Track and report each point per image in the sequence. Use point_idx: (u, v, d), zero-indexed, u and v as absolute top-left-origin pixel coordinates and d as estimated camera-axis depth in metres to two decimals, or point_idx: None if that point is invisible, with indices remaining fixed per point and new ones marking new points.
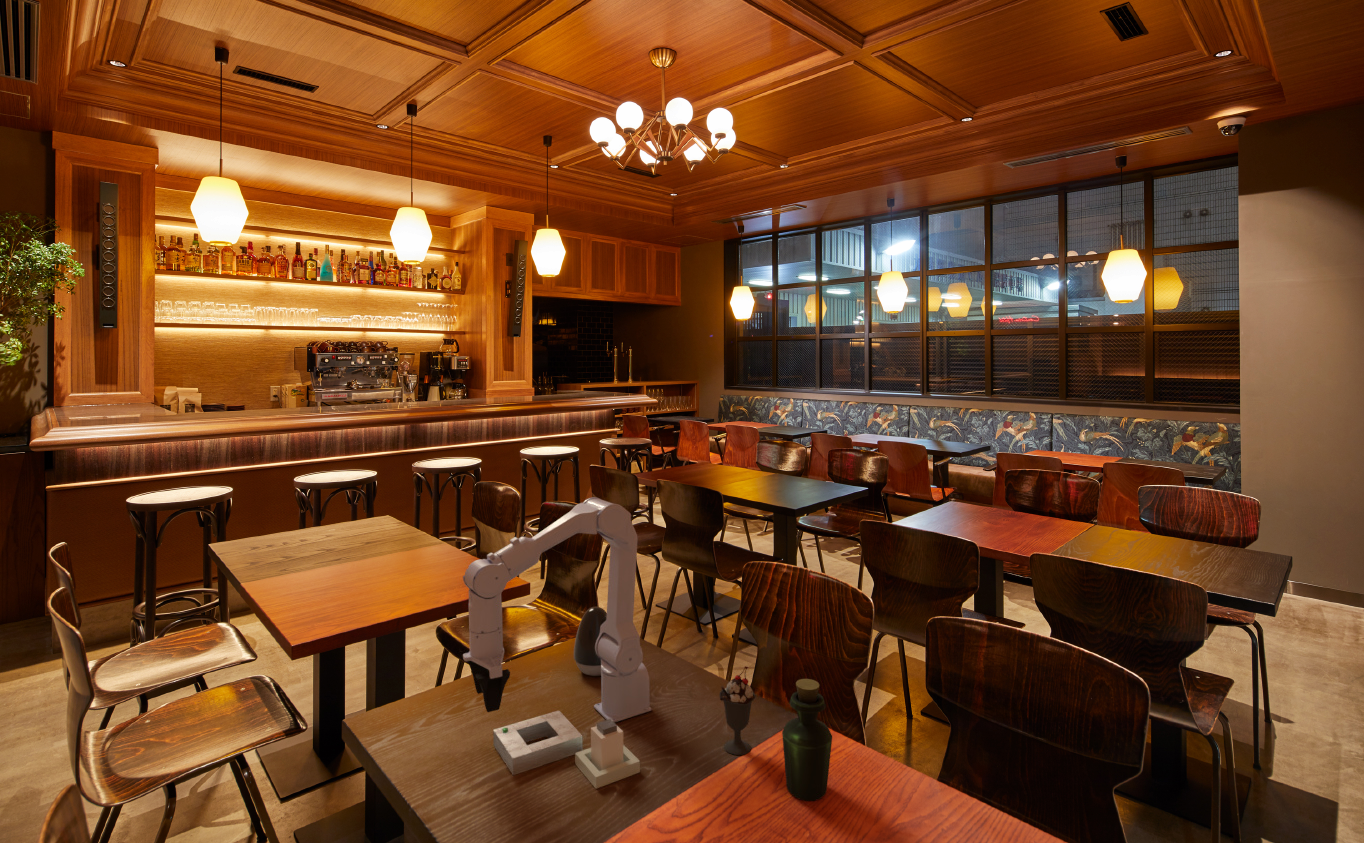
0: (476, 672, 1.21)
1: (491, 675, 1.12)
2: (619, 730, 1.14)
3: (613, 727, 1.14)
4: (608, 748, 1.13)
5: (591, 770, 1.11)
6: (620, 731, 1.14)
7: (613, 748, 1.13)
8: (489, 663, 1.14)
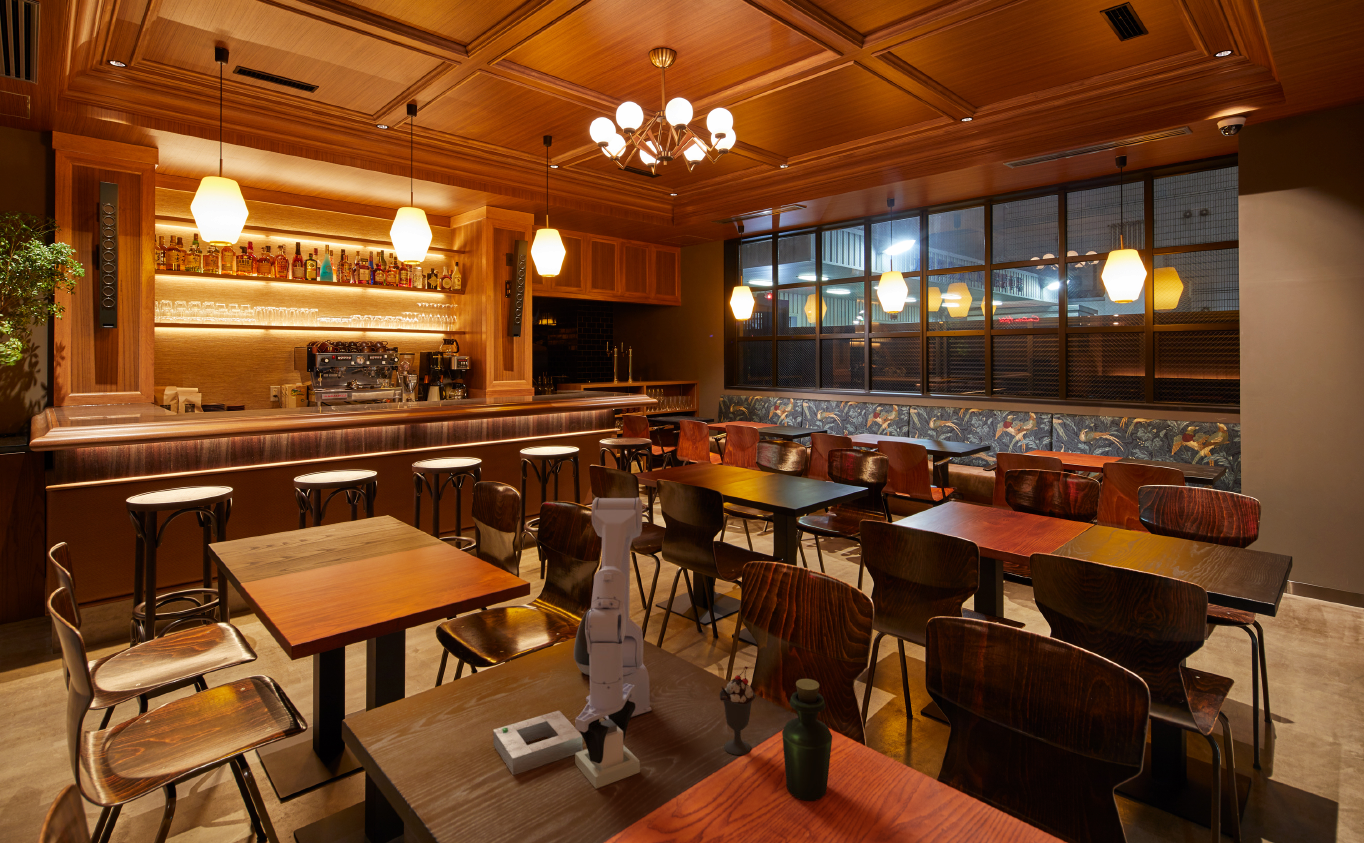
0: None
1: (576, 726, 1.09)
2: (619, 730, 1.14)
3: (613, 727, 1.14)
4: (608, 748, 1.13)
5: (591, 770, 1.11)
6: (620, 731, 1.14)
7: (613, 748, 1.13)
8: (586, 713, 1.10)
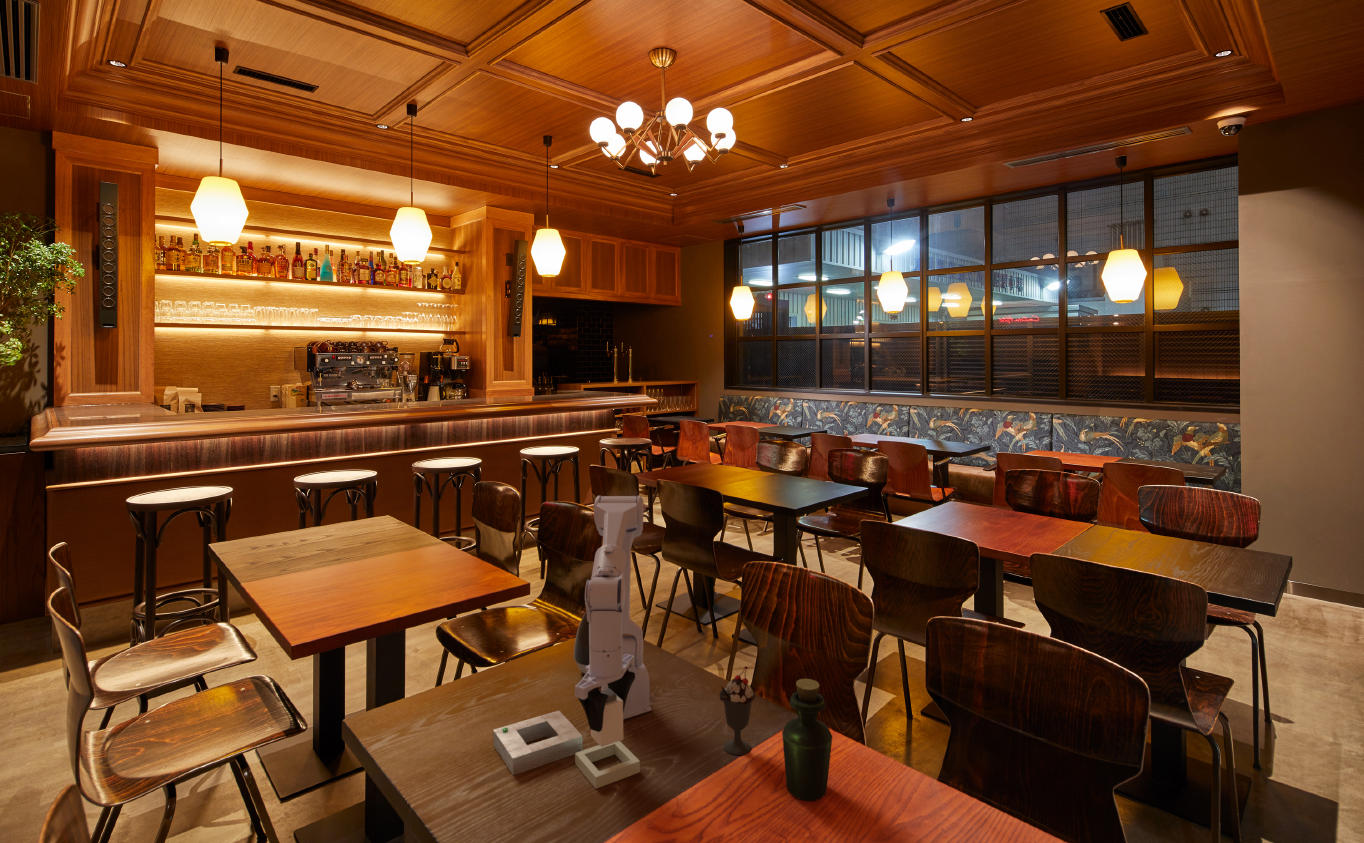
0: None
1: (575, 693, 1.08)
2: (619, 699, 1.14)
3: (613, 696, 1.13)
4: (608, 717, 1.12)
5: (591, 770, 1.11)
6: (620, 700, 1.14)
7: (613, 717, 1.13)
8: (586, 681, 1.10)
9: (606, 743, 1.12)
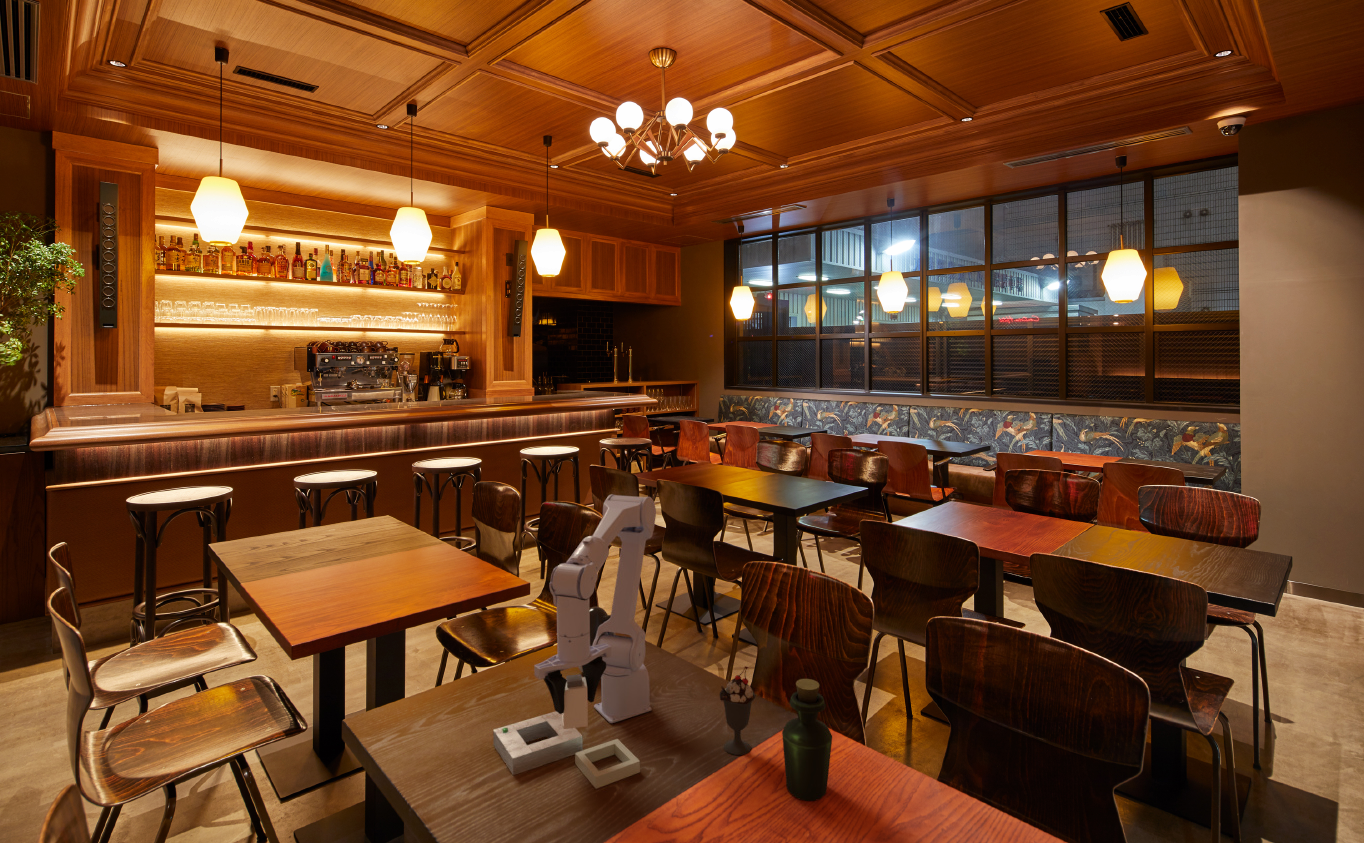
0: (585, 676, 1.20)
1: (534, 673, 1.13)
2: (584, 686, 1.16)
3: (578, 682, 1.16)
4: (571, 701, 1.15)
5: (591, 770, 1.11)
6: (585, 687, 1.16)
7: (576, 702, 1.15)
8: (548, 663, 1.14)
9: (569, 726, 1.15)
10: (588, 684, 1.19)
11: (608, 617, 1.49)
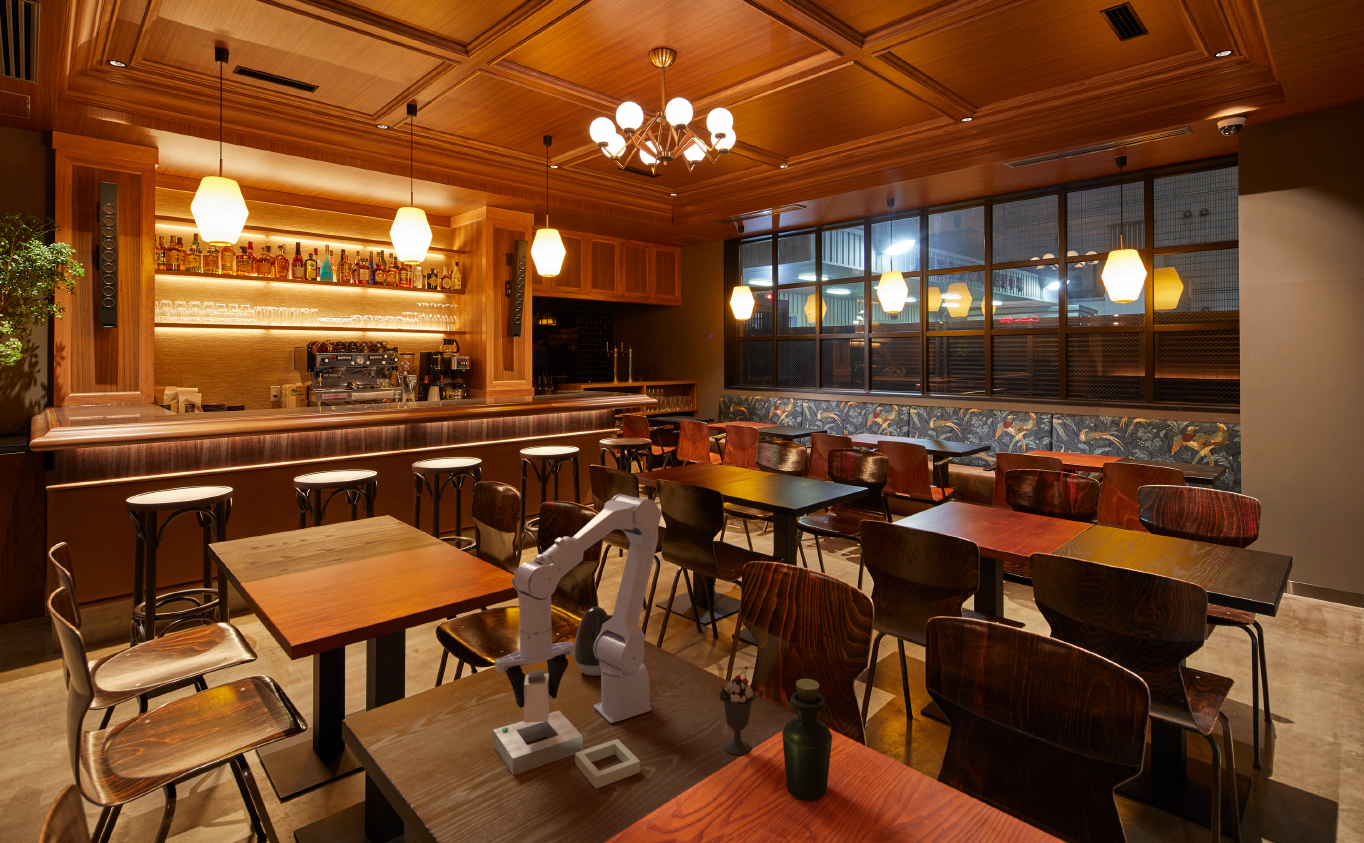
0: (549, 672, 1.23)
1: (495, 666, 1.17)
2: (545, 682, 1.19)
3: (539, 677, 1.19)
4: (531, 696, 1.18)
5: (591, 770, 1.11)
6: (545, 683, 1.19)
7: (536, 697, 1.18)
8: (509, 658, 1.18)
9: (529, 720, 1.18)
10: (551, 680, 1.22)
11: (608, 617, 1.49)
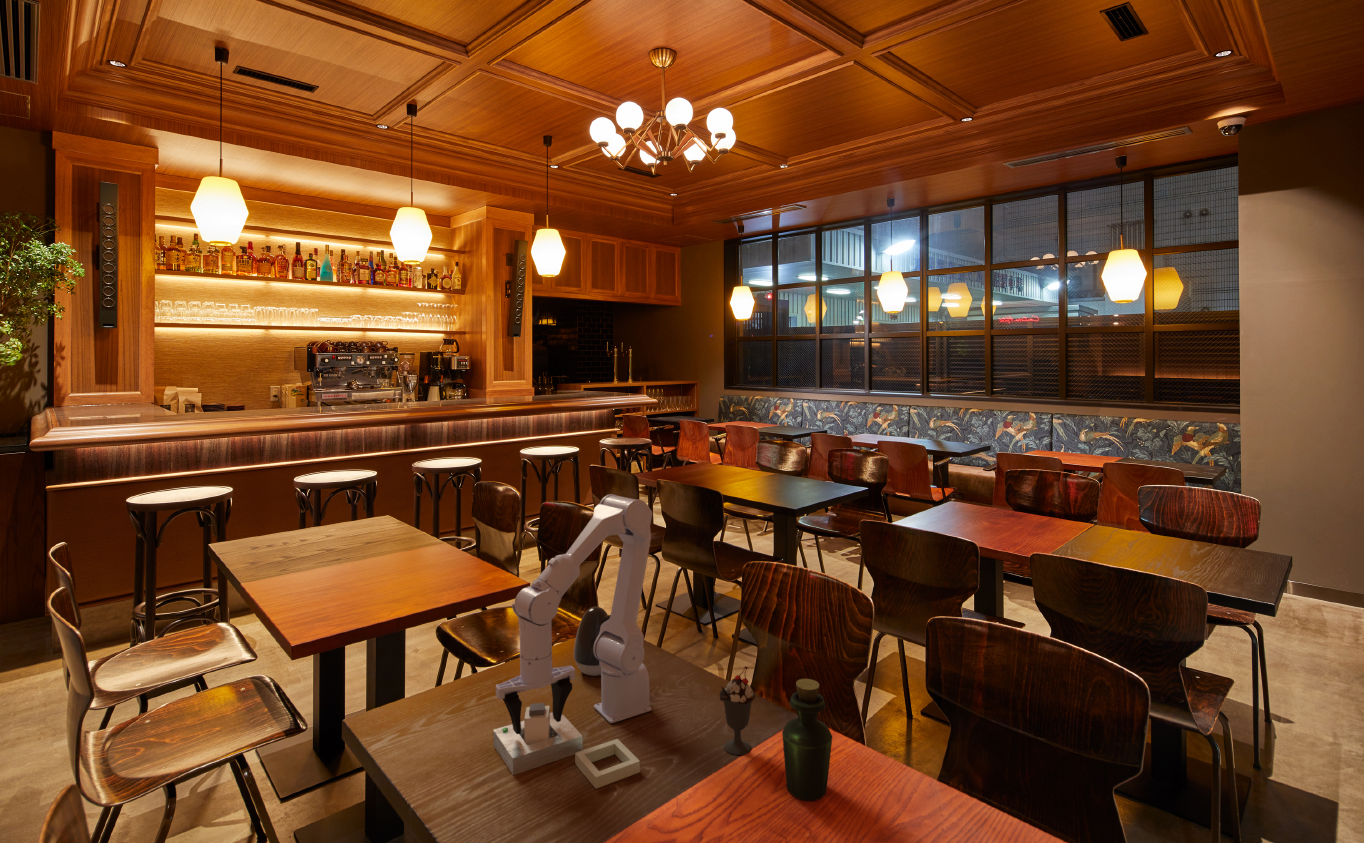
0: (553, 696, 1.24)
1: (496, 692, 1.17)
2: (546, 715, 1.20)
3: (540, 711, 1.19)
4: (532, 729, 1.19)
5: (591, 770, 1.11)
6: (546, 716, 1.19)
7: (537, 730, 1.19)
8: (509, 683, 1.18)
9: None
10: (555, 704, 1.23)
11: (608, 617, 1.49)
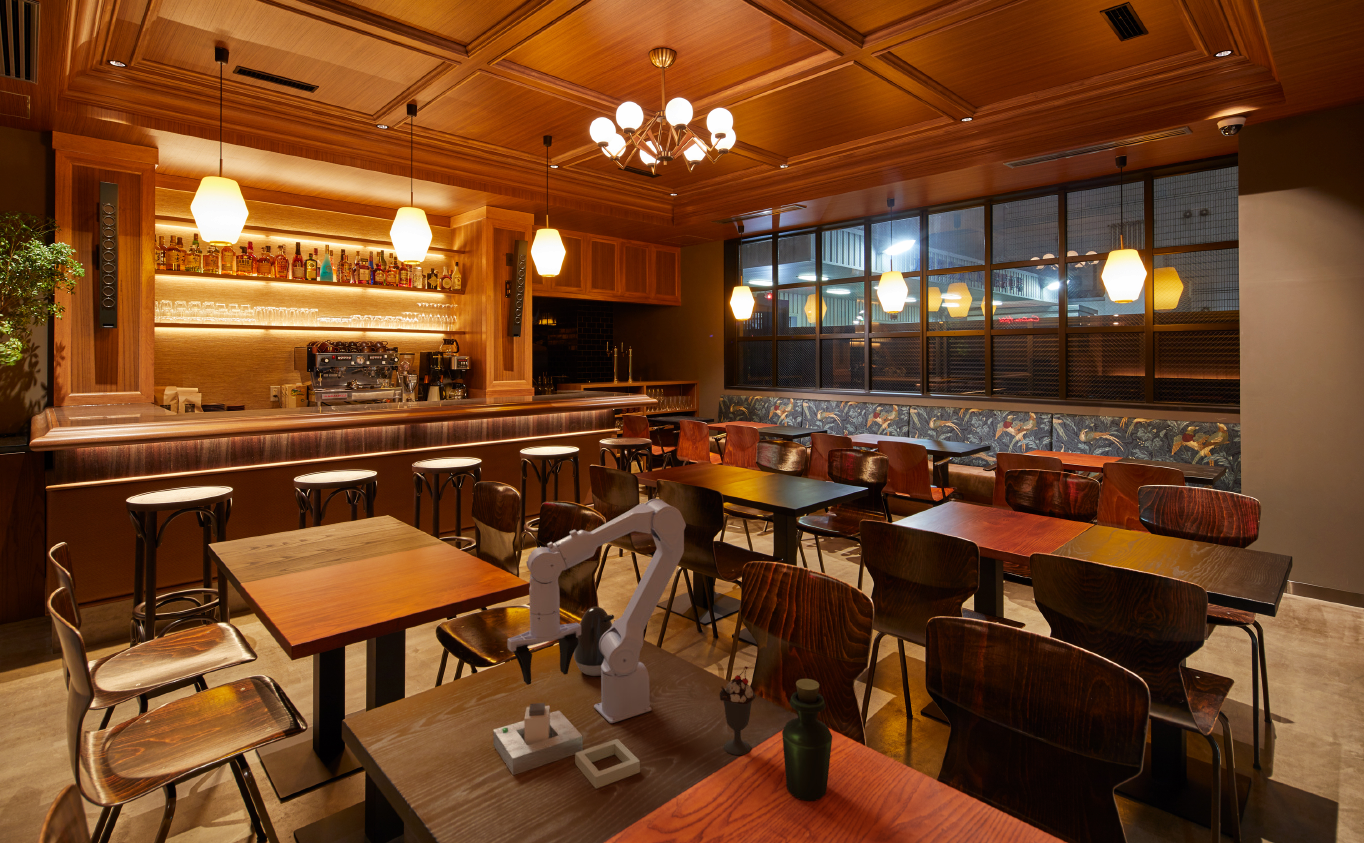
0: (560, 651, 1.32)
1: None
2: (546, 715, 1.20)
3: (540, 711, 1.19)
4: (532, 729, 1.19)
5: (591, 770, 1.11)
6: (546, 716, 1.19)
7: (537, 730, 1.19)
8: None
9: None
10: (563, 658, 1.31)
11: (608, 617, 1.49)
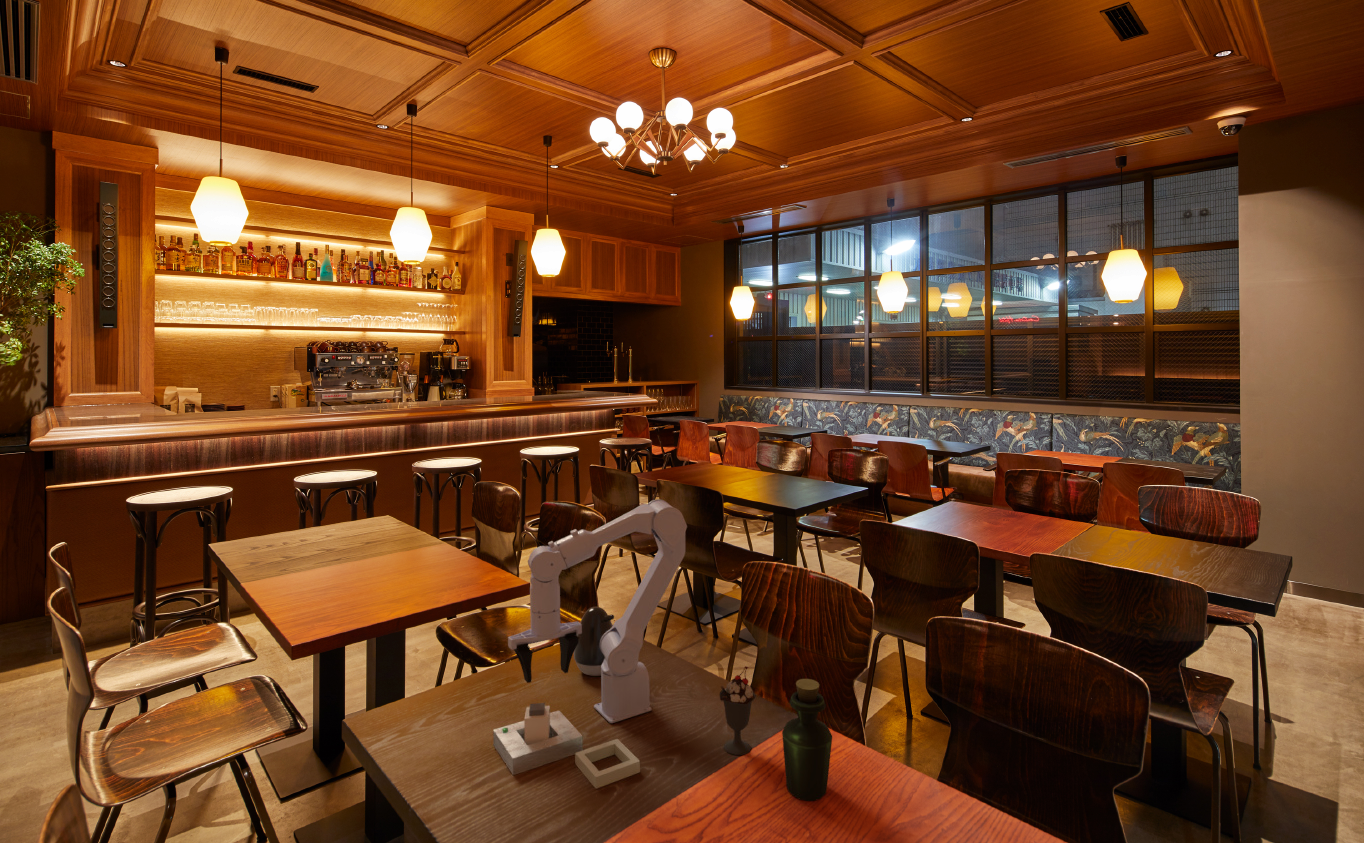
0: (561, 649, 1.33)
1: (508, 643, 1.26)
2: (546, 715, 1.20)
3: (540, 711, 1.19)
4: (532, 729, 1.19)
5: (591, 770, 1.11)
6: (546, 716, 1.19)
7: (537, 730, 1.19)
8: (521, 635, 1.27)
9: None
10: (563, 656, 1.32)
11: (608, 617, 1.49)
